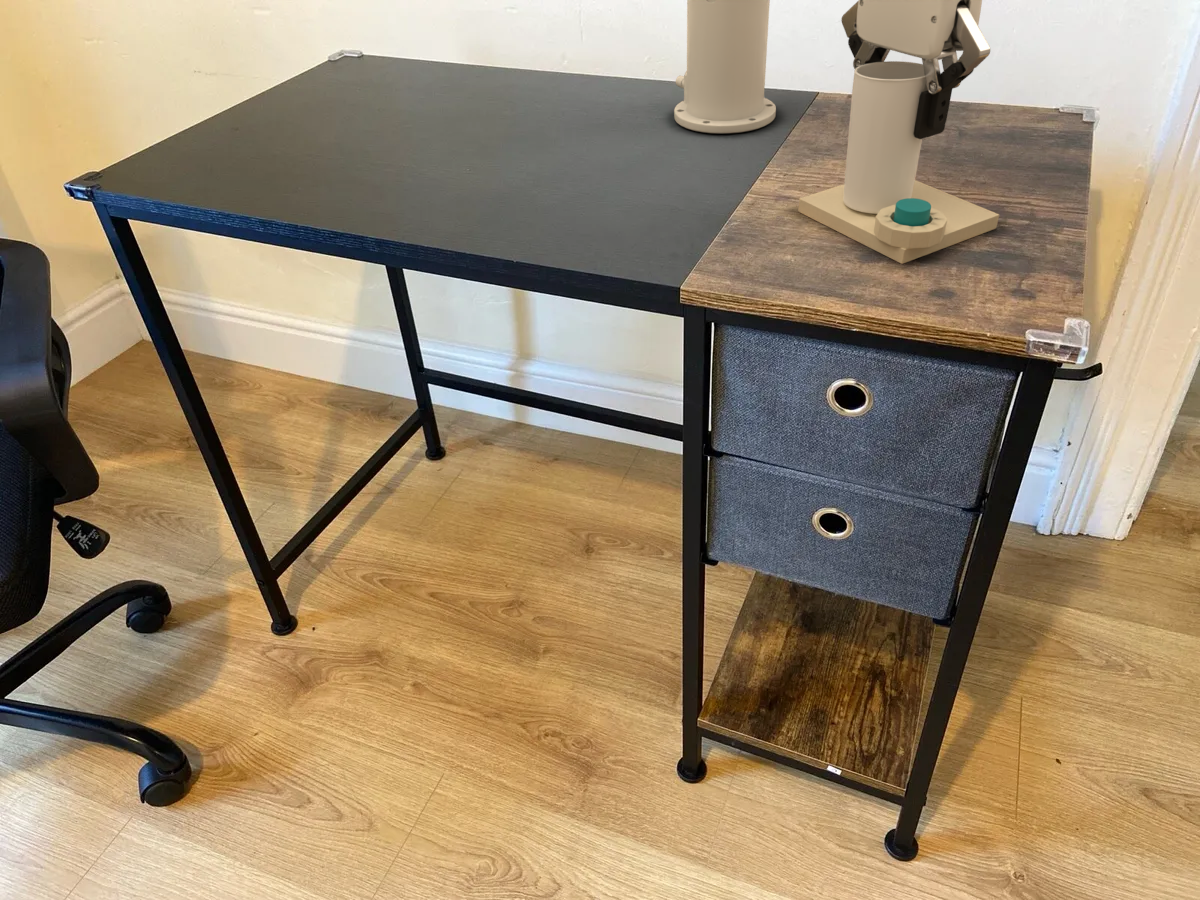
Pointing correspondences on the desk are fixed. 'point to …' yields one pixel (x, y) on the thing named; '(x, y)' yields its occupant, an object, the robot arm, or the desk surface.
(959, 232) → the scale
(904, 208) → the button
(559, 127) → the desk surface
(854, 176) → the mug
